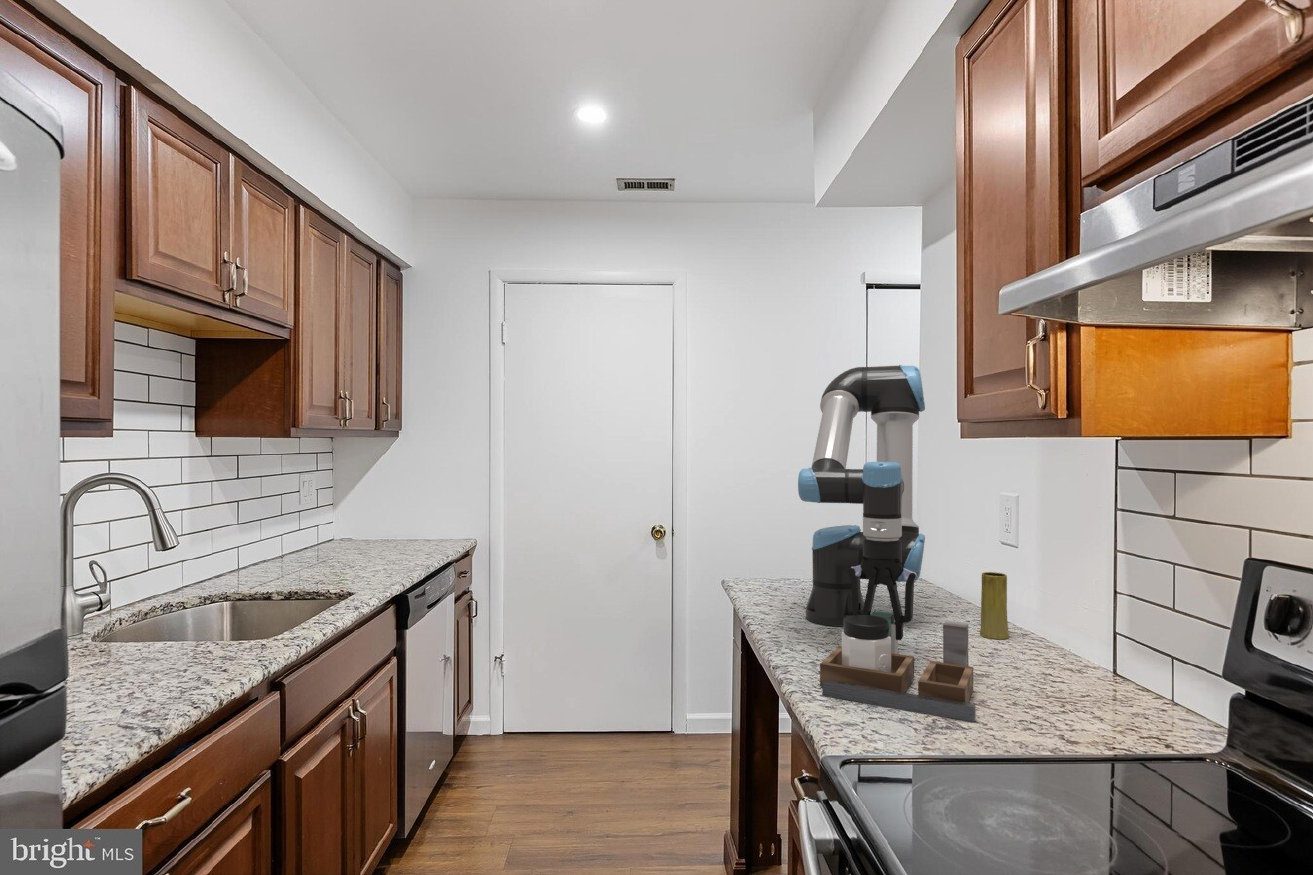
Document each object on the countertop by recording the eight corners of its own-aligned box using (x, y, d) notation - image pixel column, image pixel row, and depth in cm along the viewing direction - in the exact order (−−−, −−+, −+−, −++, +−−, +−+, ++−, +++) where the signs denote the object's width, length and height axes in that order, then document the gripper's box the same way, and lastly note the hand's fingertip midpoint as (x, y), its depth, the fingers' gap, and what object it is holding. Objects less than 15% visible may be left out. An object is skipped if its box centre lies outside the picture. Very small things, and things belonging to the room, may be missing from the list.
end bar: (824, 692, 131) (824, 679, 131) (975, 718, 119) (975, 704, 119) (822, 695, 130) (822, 682, 130) (974, 722, 118) (974, 707, 118)
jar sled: (849, 655, 153) (849, 607, 153) (921, 665, 146) (921, 615, 146) (820, 685, 135) (819, 631, 135) (900, 699, 128) (900, 641, 127)
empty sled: (936, 669, 143) (936, 619, 143) (978, 675, 140) (977, 623, 139) (918, 704, 125) (918, 646, 125) (964, 712, 121) (964, 652, 121)
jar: (867, 696, 130) (867, 628, 130) (832, 683, 136) (832, 619, 136) (900, 686, 135) (900, 621, 135) (865, 674, 141) (865, 612, 141)
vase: (1006, 641, 163) (1005, 577, 163) (976, 636, 167) (976, 574, 167) (1011, 635, 168) (1011, 573, 168) (983, 631, 172) (982, 570, 172)
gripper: (835, 537, 148) (835, 652, 149) (923, 543, 140) (923, 665, 140) (844, 533, 155) (845, 643, 155) (929, 538, 147) (930, 654, 147)
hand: (882, 653), depth 148 cm, fingers closed on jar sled, 4 cm apart
